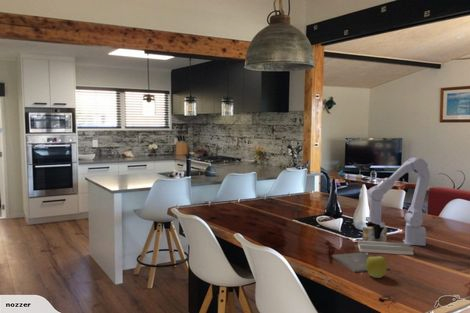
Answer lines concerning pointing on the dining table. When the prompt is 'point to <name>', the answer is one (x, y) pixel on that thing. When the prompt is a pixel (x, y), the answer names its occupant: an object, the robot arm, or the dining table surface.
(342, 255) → the play button award
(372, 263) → the apple
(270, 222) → the dining table surface
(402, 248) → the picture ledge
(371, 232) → the oak frame
